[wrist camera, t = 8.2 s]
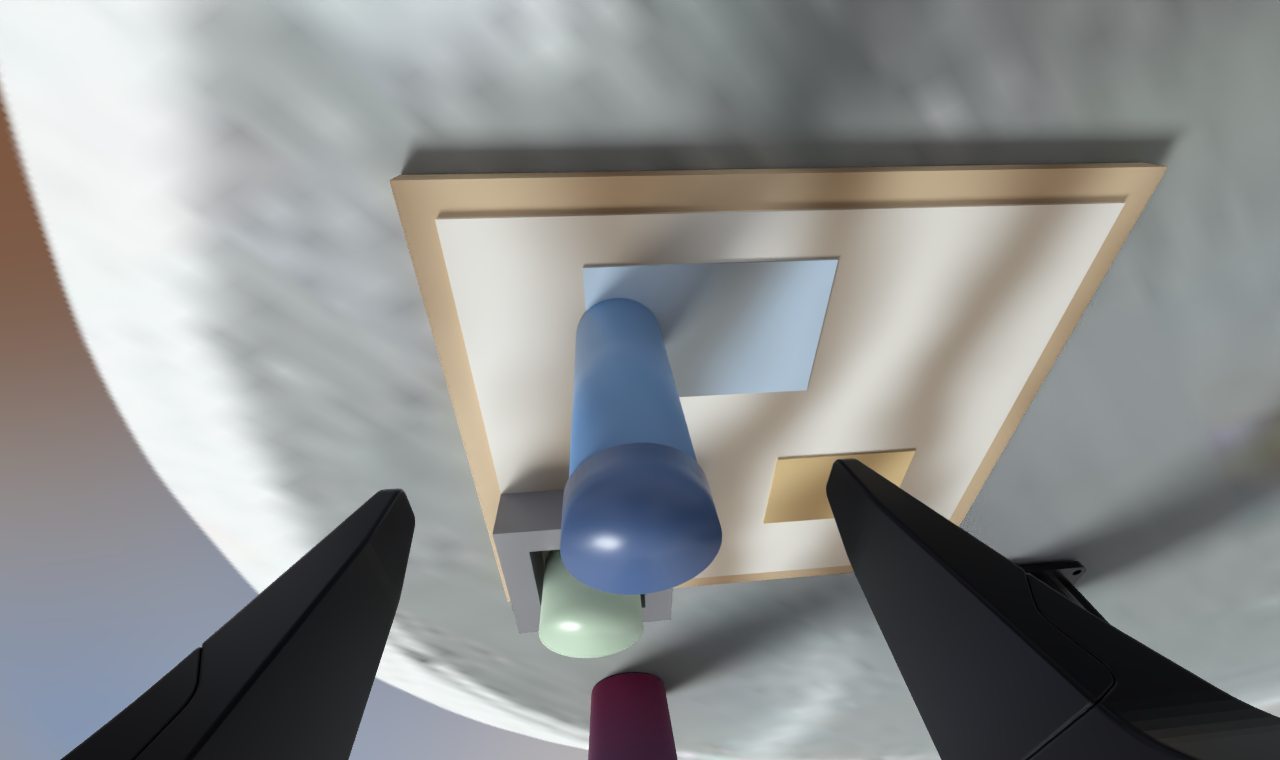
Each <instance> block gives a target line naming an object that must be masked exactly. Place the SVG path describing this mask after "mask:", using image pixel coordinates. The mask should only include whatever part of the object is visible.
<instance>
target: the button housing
mask: <svg viewBox="0 0 1280 760" xmlns="http://www.w3.org/2000/svg"><path fill="white" fill-rule="evenodd" d="M563 494H564V490H553V491H538V492H523V493H509V494H501V496H500V501H499V505H498V510H497V515H496V519H495V524H494V529H493V534H492V535H493V539H494V542H495V546H496V549H497V553H498V557H499V560H500V564H501V568H502V571H503V575H504V579H505V582H506V586H507V590H508V593H509V597H510V600H511V604H512V608H513V611H514V615H515V619H516V622H517V626H518V630H519V633H527V632H538V631H539V624H540V613H541V602H542V591H543V580H544V570H545V566H544V561H543V556H542V551H547V550H560V540H561V523H562V507H563ZM672 592H673V588H670V589H667V590H663V591H659V592H654V593H648V594H640V596H641V607H642V617H643V622H649V621H660V620H671V607H672Z"/></svg>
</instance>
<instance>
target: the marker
mask: <svg viewBox="0 0 1280 760" xmlns="http://www.w3.org/2000/svg"><path fill="white" fill-rule="evenodd" d="M721 543H722V529H721V525H720V522H719V518H718V515H717V511H716V508H715V504H714V501H713V498H712V494H711V491H710V487H709V484H708V480H707V478H706V475H705V473H704V471H703V469H702V468H701V466H700V465H699V464H698V463H697V459H696V456H695V452H694V449H693V445H692V441H691V438H690V434H689V431H688V427H687V424H686V420H685V416H684V413H683V409H682V406H681V402H680V398H679V395H678V391H677V388H676V384H675V381H674V377H673V373H672V370H671V366H670V363H669V359H668V355H667V352H666V348H665V345H664V341H663V338H662V334H661V330H660V327H659V324H658V321H657V319H656V317H655V316H654V314H653V313H652V312H651V311H650V310H649V309H648V308H647V307H646V306H644V305H643V304H641V303H639V302H637V301H634V300H631V299H625V298H613V299H608V300H604V301H601V302H599V303H597V304H595V305H594V306H592V307H591V308H590V309H589V310H587V311H586V313H585V314H584V315H583V316H582V318H581V319H580V321H579V324H578V327H577V331H576V346H575V366H574V387H573V407H572V428H571V448H570V468H569V479H568V481H567V483H566V486H565V489H564V494H563V507H562V523H561V540H560V554H561V558H562V561H563V563H564V565H565V567H566V569H567V570H568V571H569V572H570V573H571V574H572V575H573V576H574V577H575V578H576V579H577V580H579V581H580V582H582V583H584V584H585V585H587V586H590V587H592V588H594V589H597V590H601V591H604V592H609V593H614V594H625V595H636V594H648V593H654V592H659V591H663V590H667V589H670V588H673V587H676V586H678V585H681V584H683V583H685V582H687V581H689V580H691V579H692V578H694V577H696V576H697V575H698V574H700V573H701V572H702V571H704V570H705V569H706V568H707V567H708V566H709V565H710V564H711V563H712V561H713V560H714V559H715V557H716V556H717V554H718V552H719V549H720V547H721Z"/></svg>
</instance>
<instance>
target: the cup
mask: <svg viewBox="0 0 1280 760" xmlns="http://www.w3.org/2000/svg"><path fill="white" fill-rule="evenodd" d="M588 760H677V754H676V749H675V743H674V737H673V732H672V726H671V721H670V715H669V709H668V704H667V698H666V692H665V687H664V683H663V682H662V681H661V680H660V679H659V678H657V677H656V676H653V675H650V674H645V673H624V674H619V675H615V676H611V677H609V678H606V679H604V680H602V681H601V682H599V683H598V684H597V685H596V686H595V687H594V688H593V690H592V697H591V716H590V736H589V755H588Z"/></svg>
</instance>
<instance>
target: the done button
mask: <svg viewBox="0 0 1280 760" xmlns="http://www.w3.org/2000/svg"><path fill="white" fill-rule="evenodd" d="M642 632H643V617H642V607H641V596H640V594H636V595H625V594H614V593H609V592H604V591H601V590H597V589H594V588H592V587H590V586H587V585H585V584H584V583H582V582H580V581H579V580H577V579H576V578H575V577H574V576H573V575H572V574H571V573H570V572H569V571H568V570H567V569H566V567H565V565H564V563H563V561H562V558H561V554H560V550H550V551H549V553H548V555H547V557H546V560H545V570H544V580H543V591H542V602H541V613H540V624H539V637H540V640H541V642H542V643H543V644H544V645H545V646H546V647H547V648H548V649H550V650H552V651H553V652H556V653H558V654H561V655H564V656H569V657H575V658H595V657H602V656H607V655H611V654H615V653H617V652H620V651H622V650H624V649H626V648H628V647H630V646H631V645H633V644H634V643H635V642H636V641H637V640H638V639H639V638H640V636H641V634H642Z"/></svg>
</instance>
